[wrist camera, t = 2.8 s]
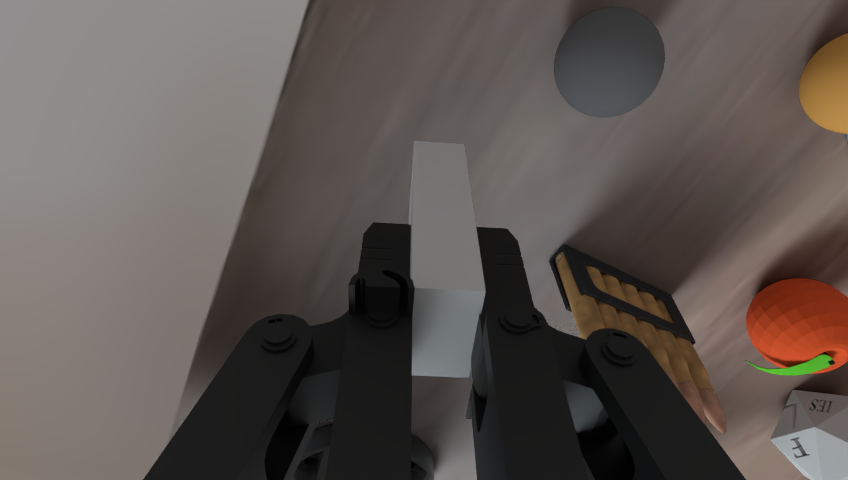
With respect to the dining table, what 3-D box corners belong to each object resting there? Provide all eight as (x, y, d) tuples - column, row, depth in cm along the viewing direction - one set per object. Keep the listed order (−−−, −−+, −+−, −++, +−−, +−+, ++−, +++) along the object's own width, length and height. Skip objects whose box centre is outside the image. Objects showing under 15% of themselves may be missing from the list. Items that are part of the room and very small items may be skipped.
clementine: (732, 341, 45) (778, 413, 39) (703, 293, 42) (748, 365, 36) (833, 298, 42) (898, 369, 36) (810, 243, 39) (878, 312, 33)
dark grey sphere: (536, 91, 32) (555, 131, 27) (556, -9, 28) (582, 18, 24) (626, 97, 32) (659, 137, 27) (657, -1, 29) (700, 27, 24)
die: (834, 353, 47) (815, 443, 42) (928, 414, 45) (919, 516, 40) (766, 380, 54) (742, 461, 49) (845, 435, 52) (829, 523, 47)
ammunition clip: (547, 260, 39) (589, 394, 30) (563, 243, 38) (611, 375, 29) (654, 309, 43) (723, 444, 33) (671, 294, 42) (747, 429, 32)
